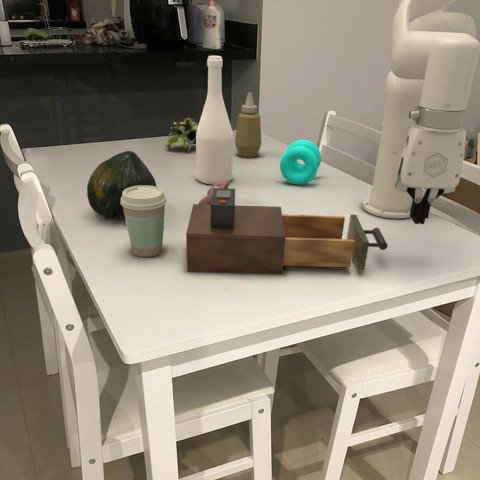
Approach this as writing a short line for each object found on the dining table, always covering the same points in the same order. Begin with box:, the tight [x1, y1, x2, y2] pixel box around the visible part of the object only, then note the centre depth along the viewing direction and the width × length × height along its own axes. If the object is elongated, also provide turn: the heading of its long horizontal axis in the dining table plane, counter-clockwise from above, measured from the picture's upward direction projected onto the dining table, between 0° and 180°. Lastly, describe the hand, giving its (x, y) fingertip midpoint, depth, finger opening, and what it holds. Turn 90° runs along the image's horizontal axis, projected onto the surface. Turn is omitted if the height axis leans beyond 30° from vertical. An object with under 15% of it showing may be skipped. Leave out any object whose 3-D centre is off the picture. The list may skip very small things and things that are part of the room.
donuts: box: [279, 139, 322, 186], centre depth 142 cm, size 10×10×10 cm
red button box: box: [211, 187, 236, 228], centre depth 99 cm, size 4×9×5 cm, turn 179°
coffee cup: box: [120, 185, 168, 258], centre depth 102 cm, size 8×8×12 cm
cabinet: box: [185, 203, 285, 275], centre depth 102 cm, size 18×15×8 cm
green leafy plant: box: [165, 117, 199, 154], centre depth 165 cm, size 11×11×12 cm
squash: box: [86, 150, 158, 219], centre depth 118 cm, size 14×15×15 cm
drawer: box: [282, 214, 389, 272], centre depth 103 cm, size 21×13×6 cm, turn 89°
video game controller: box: [198, 179, 231, 205], centre depth 127 cm, size 10×5×7 cm, turn 168°
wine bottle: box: [195, 55, 234, 186], centre depth 135 cm, size 10×10×30 cm
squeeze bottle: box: [234, 91, 262, 158], centre depth 159 cm, size 8×8×18 cm
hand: (417, 221), depth 100 cm, fingers closed
